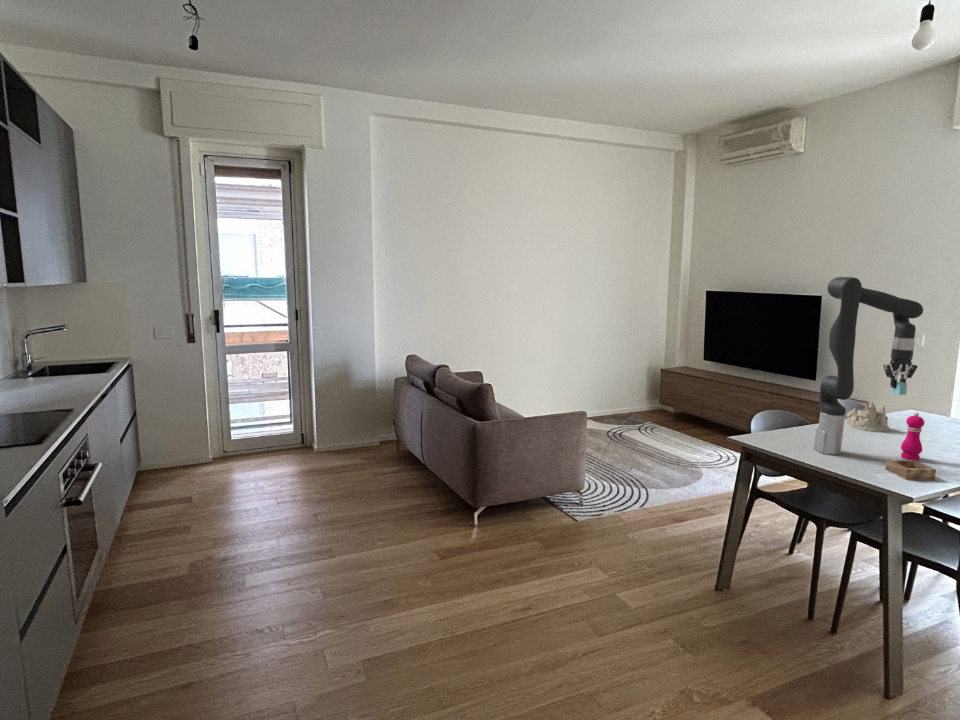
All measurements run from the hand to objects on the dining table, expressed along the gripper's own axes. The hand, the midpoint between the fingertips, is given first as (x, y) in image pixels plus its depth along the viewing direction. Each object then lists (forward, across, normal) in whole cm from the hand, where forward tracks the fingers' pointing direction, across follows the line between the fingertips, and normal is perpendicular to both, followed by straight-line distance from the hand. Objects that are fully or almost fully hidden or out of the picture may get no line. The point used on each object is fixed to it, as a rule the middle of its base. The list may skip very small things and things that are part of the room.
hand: (897, 387), depth 245 cm
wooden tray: (+28, -14, -29) cm, 43 cm away
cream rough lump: (+29, +15, +36) cm, 49 cm away
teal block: (+3, 0, -1) cm, 3 cm away
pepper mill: (+29, +1, -10) cm, 30 cm away
